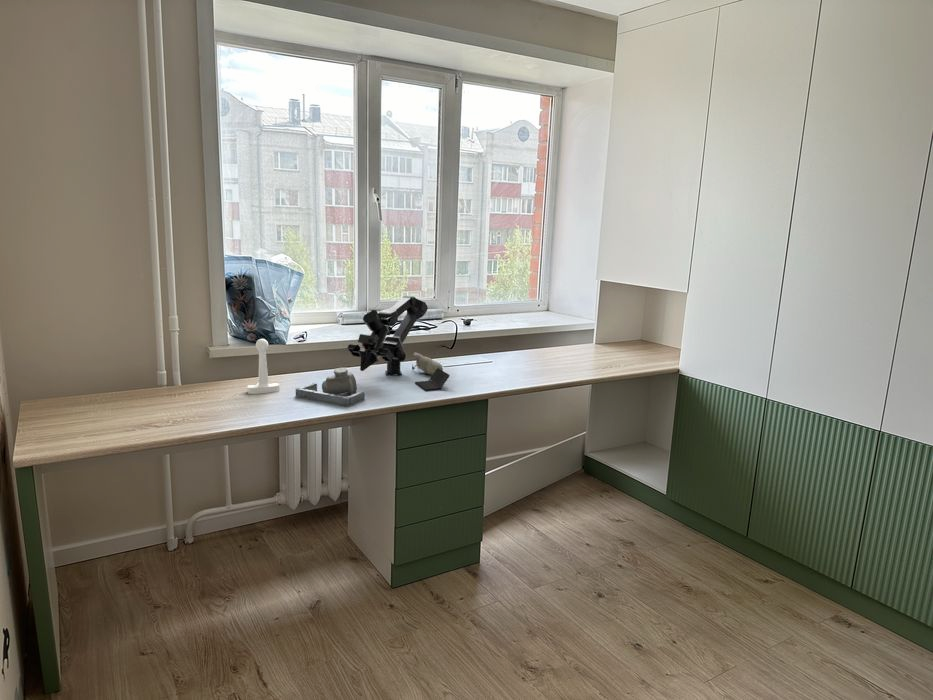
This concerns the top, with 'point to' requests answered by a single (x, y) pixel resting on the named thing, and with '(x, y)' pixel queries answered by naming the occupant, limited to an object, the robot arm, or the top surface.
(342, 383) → the pipe fitting
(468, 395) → the top surface
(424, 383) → the handheld gaming console
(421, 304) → the robot arm
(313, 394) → the duct bracket
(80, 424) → the top surface
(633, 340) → the top surface
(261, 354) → the joystick
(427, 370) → the decorative bird
